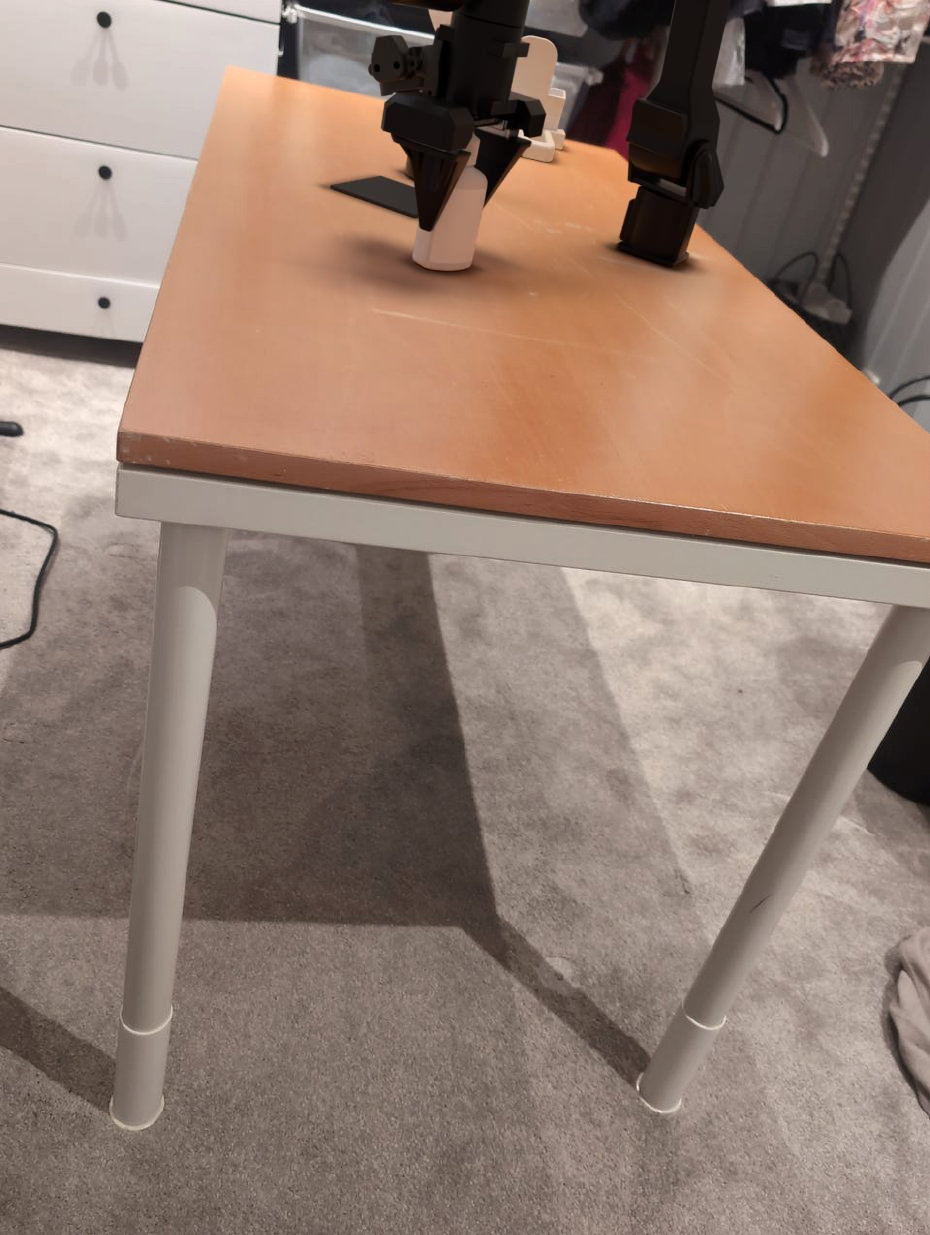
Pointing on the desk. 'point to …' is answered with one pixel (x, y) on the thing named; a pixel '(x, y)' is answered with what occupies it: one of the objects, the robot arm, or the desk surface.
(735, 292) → the desk surface
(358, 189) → the coaster
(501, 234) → the desk surface
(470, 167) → the eye dropper bottle
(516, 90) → the jewelry stand
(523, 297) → the desk surface
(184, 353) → the desk surface
